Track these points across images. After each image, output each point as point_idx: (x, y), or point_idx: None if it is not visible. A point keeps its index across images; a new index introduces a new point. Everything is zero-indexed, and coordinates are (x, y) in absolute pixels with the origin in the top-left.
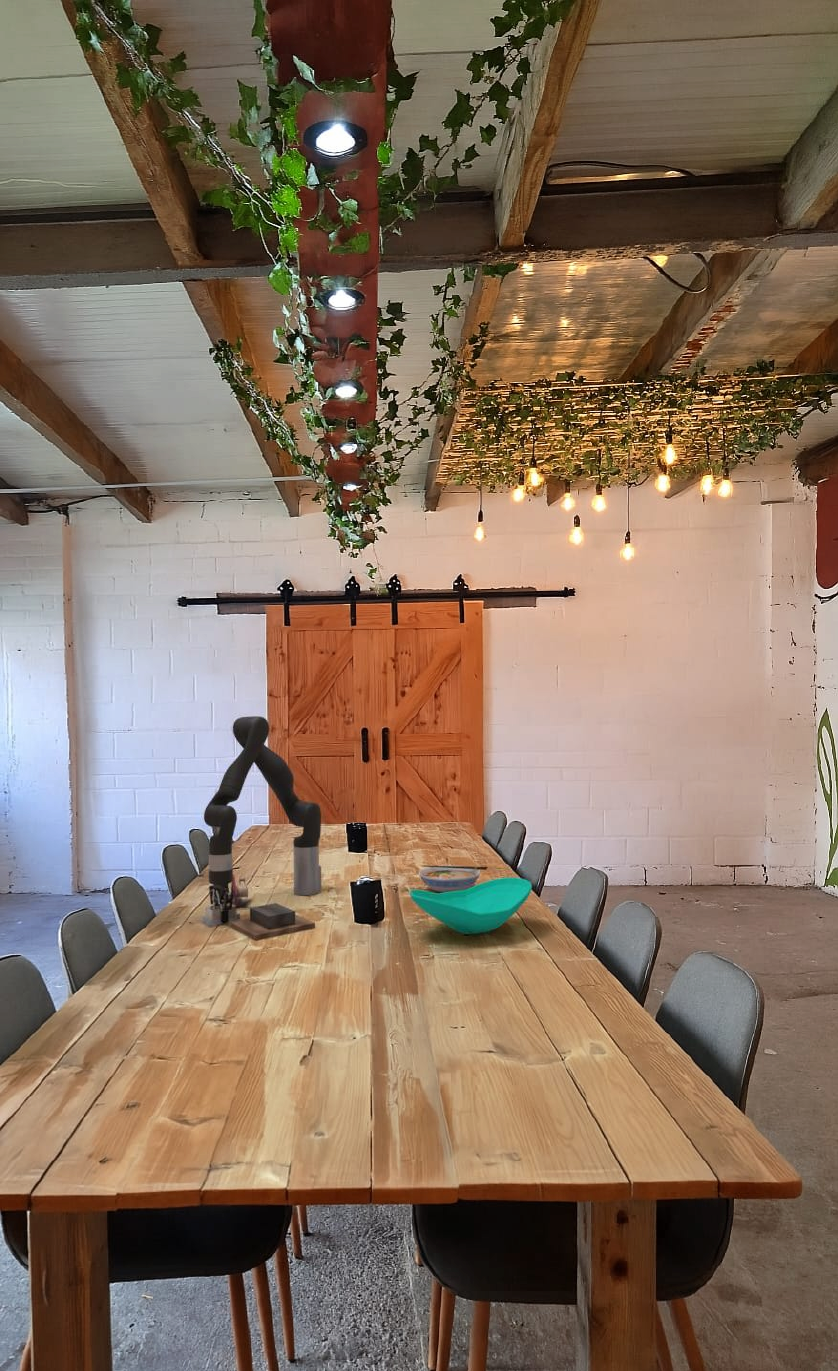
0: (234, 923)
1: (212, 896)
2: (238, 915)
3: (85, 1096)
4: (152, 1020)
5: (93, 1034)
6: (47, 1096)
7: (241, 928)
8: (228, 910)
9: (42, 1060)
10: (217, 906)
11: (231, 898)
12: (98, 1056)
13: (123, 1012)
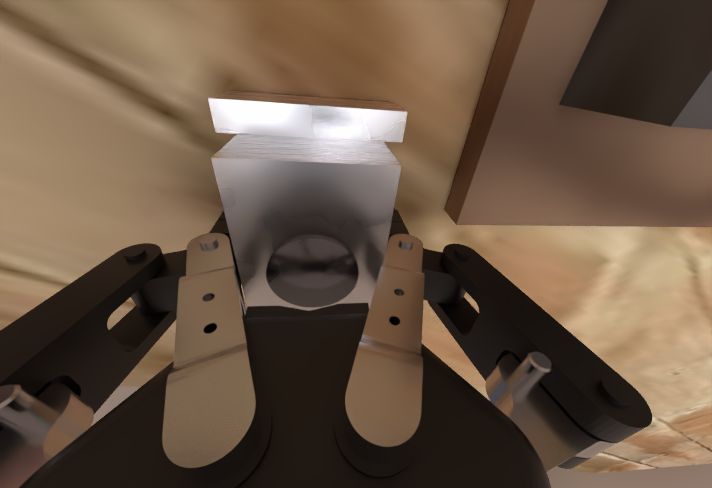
0: (502, 218)
1: (129, 357)
2: (403, 126)
3: (696, 452)
4: (675, 428)
5: (626, 452)
6: (664, 461)
7: (598, 225)
8: (423, 248)
9: (616, 465)
10: (308, 299)
11: (560, 343)
12: (664, 449)
13: None
